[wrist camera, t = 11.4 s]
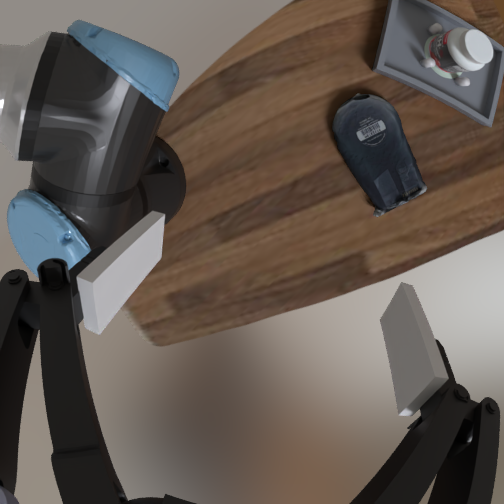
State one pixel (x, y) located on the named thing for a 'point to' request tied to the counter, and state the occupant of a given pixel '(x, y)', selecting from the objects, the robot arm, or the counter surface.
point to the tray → (423, 67)
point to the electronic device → (377, 151)
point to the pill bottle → (460, 50)
